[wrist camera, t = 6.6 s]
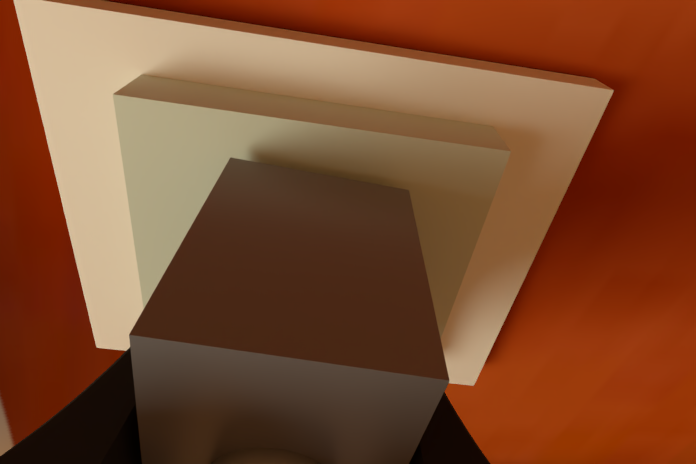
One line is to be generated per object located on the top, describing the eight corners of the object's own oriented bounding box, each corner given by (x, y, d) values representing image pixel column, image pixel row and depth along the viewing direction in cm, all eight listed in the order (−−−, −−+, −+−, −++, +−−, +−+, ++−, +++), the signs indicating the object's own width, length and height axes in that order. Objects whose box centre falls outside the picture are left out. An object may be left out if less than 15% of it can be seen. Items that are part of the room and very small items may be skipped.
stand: (467, 363, 21) (483, 422, 18) (109, 326, 19) (74, 384, 17) (594, 78, 14) (650, 112, 11) (40, -10, 12) (-40, 5, 10)
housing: (408, 189, 12) (460, 430, 6) (354, 367, 15) (354, 619, 10) (230, 157, 11) (101, 382, 6) (219, 348, 15) (136, 599, 9)
